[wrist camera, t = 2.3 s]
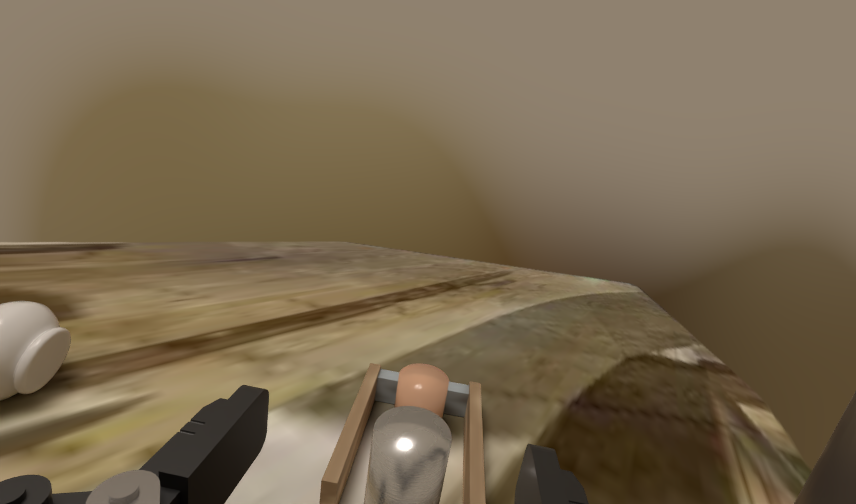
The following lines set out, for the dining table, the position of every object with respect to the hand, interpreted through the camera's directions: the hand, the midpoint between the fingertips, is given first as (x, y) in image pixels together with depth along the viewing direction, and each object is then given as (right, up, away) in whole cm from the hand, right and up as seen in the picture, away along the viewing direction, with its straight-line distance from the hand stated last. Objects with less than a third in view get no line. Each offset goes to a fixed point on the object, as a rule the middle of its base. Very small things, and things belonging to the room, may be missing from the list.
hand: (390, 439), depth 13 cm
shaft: (-2, -17, +16) cm, 23 cm away
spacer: (0, -12, +30) cm, 33 cm away
